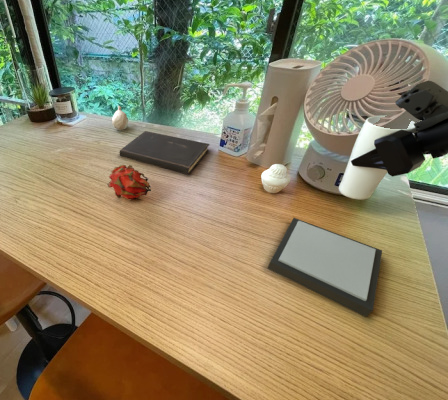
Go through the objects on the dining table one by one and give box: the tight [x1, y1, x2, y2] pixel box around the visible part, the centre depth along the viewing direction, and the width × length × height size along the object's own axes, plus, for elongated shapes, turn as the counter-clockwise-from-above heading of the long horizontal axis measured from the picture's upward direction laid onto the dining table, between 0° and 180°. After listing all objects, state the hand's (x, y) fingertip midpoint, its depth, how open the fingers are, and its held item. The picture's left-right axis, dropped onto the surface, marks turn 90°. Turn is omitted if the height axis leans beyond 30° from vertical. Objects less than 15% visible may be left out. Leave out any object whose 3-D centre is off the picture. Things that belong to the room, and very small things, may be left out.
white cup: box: [338, 115, 416, 201], centre depth 48 cm, size 7×7×15 cm
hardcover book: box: [119, 130, 210, 176], centre depth 79 cm, size 16×23×2 cm
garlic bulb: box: [111, 105, 129, 131], centre depth 95 cm, size 7×6×8 cm
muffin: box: [260, 163, 291, 194], centre depth 60 cm, size 6×6×7 cm
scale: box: [266, 217, 383, 318], centre depth 45 cm, size 14×14×2 cm
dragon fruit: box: [106, 164, 152, 202], centre depth 63 cm, size 8×8×12 cm
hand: (362, 158), depth 49 cm, fingers closed on white cup, 6 cm apart
